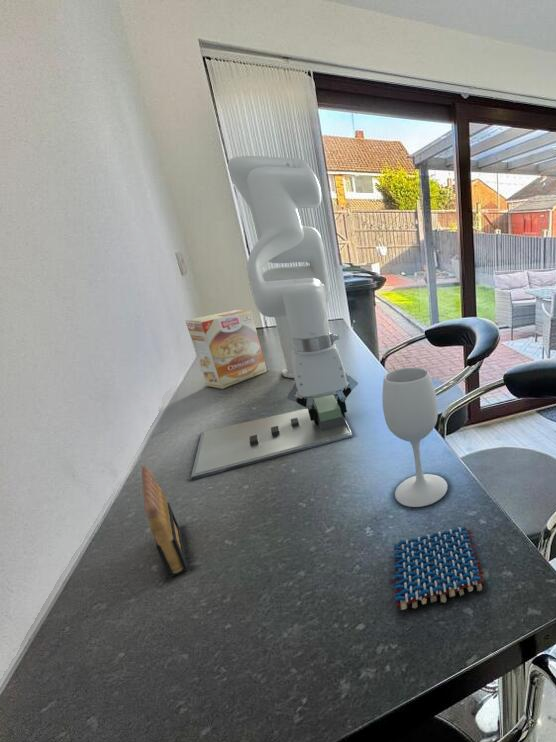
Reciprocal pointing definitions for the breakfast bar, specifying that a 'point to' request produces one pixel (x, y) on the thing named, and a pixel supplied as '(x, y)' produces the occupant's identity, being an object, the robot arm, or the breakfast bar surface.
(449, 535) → the woven mat
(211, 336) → the coffeecake box
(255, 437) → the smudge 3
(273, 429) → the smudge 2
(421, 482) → the wineglass
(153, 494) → the ammunition clip
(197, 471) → the board
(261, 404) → the breakfast bar surface
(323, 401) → the eraser
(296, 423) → the dark grey small bar
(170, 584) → the breakfast bar surface
